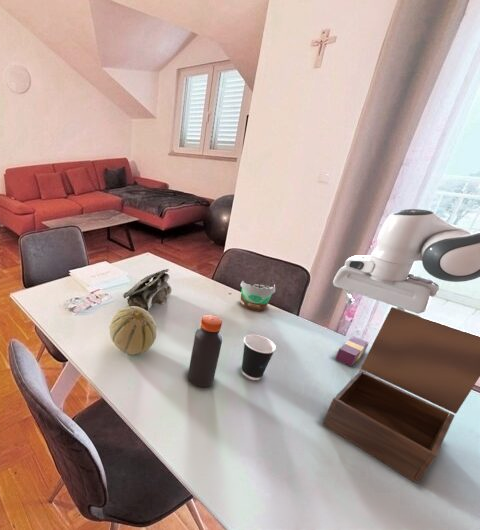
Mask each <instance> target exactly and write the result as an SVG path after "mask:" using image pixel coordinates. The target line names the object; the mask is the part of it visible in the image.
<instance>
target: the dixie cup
mask: <svg viewBox="0 0 480 530" xmlns="http://www.w3.org/2000/svg"><path fill="white" fill-rule="evenodd" d="M243 343H244V345H243V354H242V363H241V373H242V375H243V376H244V377H245V378H247V379H249V380H251V381H258V380H260V379H261V378H262V377H263V376H264V373H265V371H266V369H267V367H268V365H269V363H270V361H271V359H272V357H273V355H274V353H275V352H276V351H277V345H276V343H275V342H273V340H271V338H270V339H269V338H268V337H265V336H262V335H259V334H247V335H245V336H244V337H243Z"/></svg>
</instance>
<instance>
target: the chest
mask: <svg viewBox="0 0 480 530" xmlns="http://www.w3.org/2000/svg"><path fill="white" fill-rule="evenodd" d="M455 416H456V414H455V413H452V412H450V411H448V410H446V409H444V408H442V407H440V406H438V405H436V404H433V403H431V402H429V401H427V400H425V399H423V398H421V397H419V396H417V395H414V394H412V393H410V392H408V391H406V390H404V389H402V388H400V387H398V386H395V385H393V384H391V383H389V382H387V381H385V380H383V379H381V378H379V377H376V376H374V375H372V374H370V373H368V372H366V371H364V370H362V369H359V370H358V372H356V373H355V374H354V376H353V377H352V378H351V379H349V381H348V382H347V383H346V384H345V386H344V387H343V388H341V390H340V391H339V392H338V393H337V394H336V395H335V396H334V397H333V398H332V401H331V403H330V406H329V408H328V410H327V412H326V414H325V416H324V418H323V421H322V423H321V424H322V425H323V426H324V427H326V428H327V429H329V430H330V431H332V432H334V433H335V434H337V435H338V436H340V437H342V438H343V439H344V440H346V441H348V442H349V443H351V444H353V445H354V446H356V447H358V448H359V449H360V450H362V451H364V452H365V453H367V454H369V455H370V456H372V457H373V458H374V459H376V460H378V461H380V462H382V463H383V464H384V465H386V466H387V467H389V468H391V469H392V470H394V471H395V472H398V473H399V474H401V475H402V476H404V477H405V478H406V479H409V480H410V481H411V482H414V483H415V484H417V485H418V484H419V483H420V481H421V479H422V478H423V477H424V475H425V473H426V472H427V471H428V470H429V468H430V466H431V465H432V463H433V462H434V460H435V459H436V458H437V456H438V453H439V451H440V449H441V447H442V444H443V443H444V440H445V438H446V436H447V434H448V432H449V429H450V427H451V426H452V422H453V420H454V418H455Z"/></svg>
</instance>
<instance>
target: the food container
mask: <svg viewBox="0 0 480 530" xmlns="http://www.w3.org/2000/svg"><path fill="white" fill-rule="evenodd" d="M239 285H240V287H241V289H240V290H241V291H240V299H239V302H240V305H241V306H242V307H243V308H245V309H247V310H250V311H253V312H262V311H263V312H264V311H265V310H266V309H267V308H268V307H267V306H268V304H269V302H270V300H271V297H272V295H273V294H274V293H276V283H275V284H273V285H266V284H263V283H249V282H245V281H244V280H242V281H241V282H240V284H239Z"/></svg>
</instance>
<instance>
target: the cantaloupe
mask: <svg viewBox="0 0 480 530" xmlns="http://www.w3.org/2000/svg"><path fill="white" fill-rule="evenodd" d="M109 335H110V340H111V341H112V343H113V344H114V346H115V347H116V348H117V349H118V350H119V351H121V352H123V353H125V354H128V355H133V356H134V355H139V354H143V353H145V352H147V351H148V350H149V349H150V348H151V347H152V346H153V345H154V343H155V340H156V338H157V337H156V336H157V323H156V321H155V319H154V318H153V316H152V315H151V313H150V312H149V310H148V311H146V310H145V309H143V308H140V307H137V306H125V307H122V308H120V309H119V310H117V312H116V313H115V314H114V315H113V317H112V319H111V321H110V324H109Z"/></svg>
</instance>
